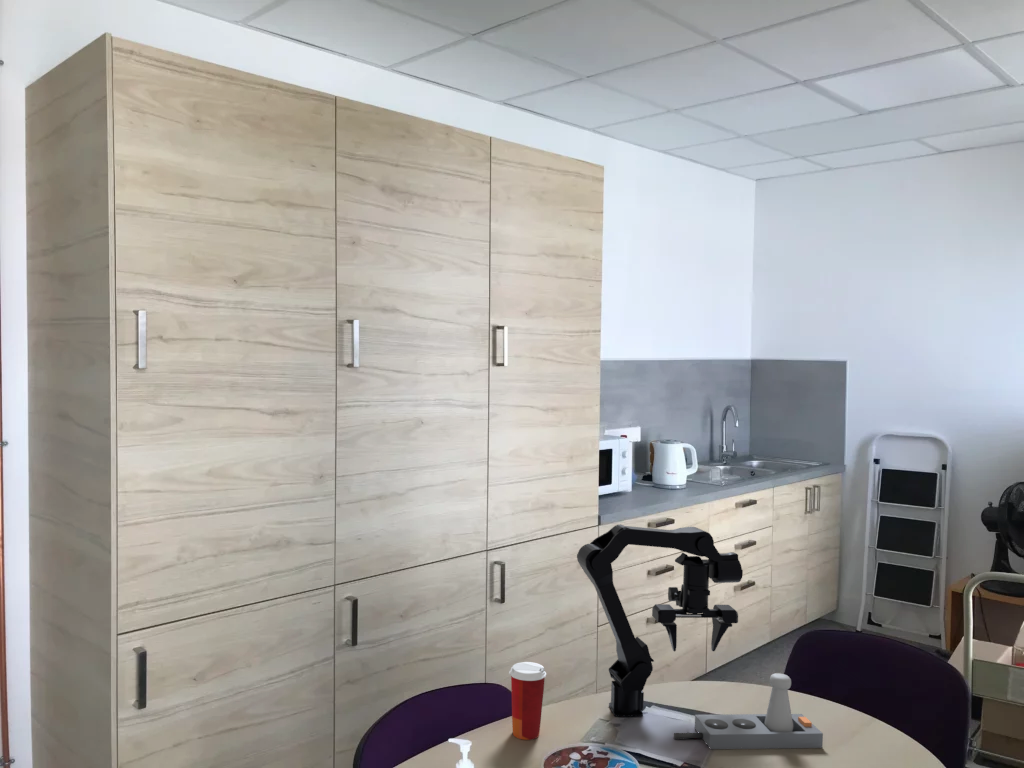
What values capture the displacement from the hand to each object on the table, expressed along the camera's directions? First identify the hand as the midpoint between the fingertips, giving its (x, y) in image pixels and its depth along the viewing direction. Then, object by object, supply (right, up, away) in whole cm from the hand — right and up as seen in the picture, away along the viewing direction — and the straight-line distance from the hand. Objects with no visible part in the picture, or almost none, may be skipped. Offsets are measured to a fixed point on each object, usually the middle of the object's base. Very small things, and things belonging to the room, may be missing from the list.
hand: (693, 650), depth 184 cm
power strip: (+7, -13, -15) cm, 21 cm away
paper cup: (-39, -12, -17) cm, 44 cm away
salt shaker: (+15, -14, -14) cm, 25 cm away
